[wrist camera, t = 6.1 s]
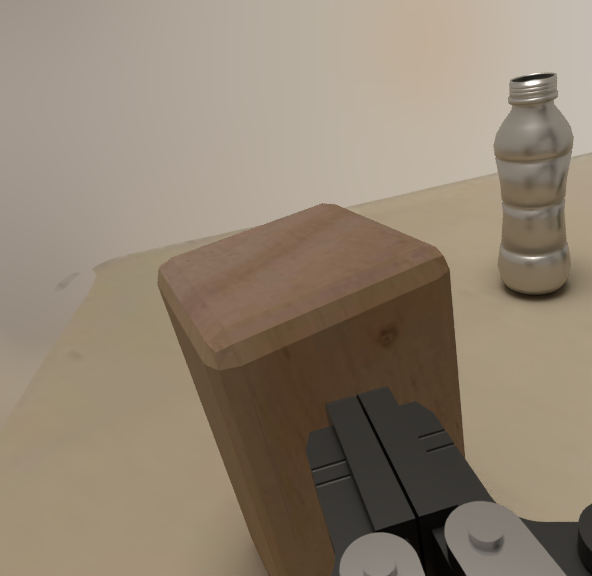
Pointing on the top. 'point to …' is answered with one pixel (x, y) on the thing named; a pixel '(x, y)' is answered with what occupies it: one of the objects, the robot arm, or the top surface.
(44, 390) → the top surface
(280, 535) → the wooden block
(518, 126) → the plastic bottle
